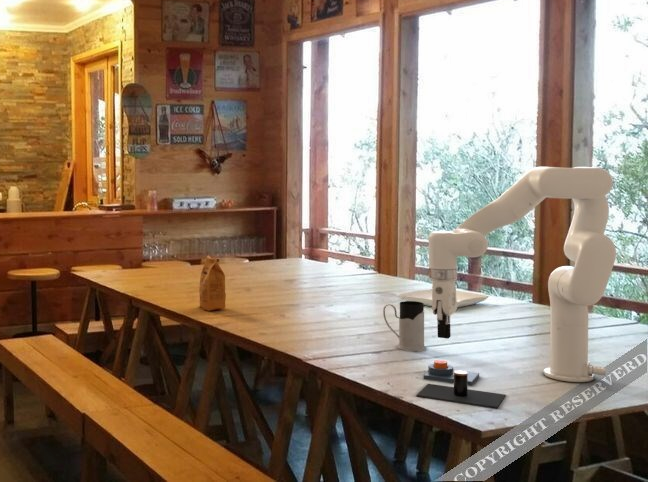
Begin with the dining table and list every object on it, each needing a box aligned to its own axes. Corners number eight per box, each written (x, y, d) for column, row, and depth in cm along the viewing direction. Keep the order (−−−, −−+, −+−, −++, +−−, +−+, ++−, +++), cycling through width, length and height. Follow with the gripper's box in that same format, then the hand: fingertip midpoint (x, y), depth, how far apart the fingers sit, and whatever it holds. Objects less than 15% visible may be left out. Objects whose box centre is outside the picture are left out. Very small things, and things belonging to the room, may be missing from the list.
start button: (448, 367, 228) (448, 361, 228) (445, 370, 225) (445, 363, 225) (435, 365, 230) (435, 359, 230) (432, 368, 227) (432, 362, 227)
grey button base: (479, 377, 227) (479, 366, 227) (471, 386, 219) (471, 375, 218) (432, 370, 234) (432, 361, 234) (423, 379, 226) (423, 368, 226)
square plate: (490, 303, 333) (490, 294, 332) (451, 312, 317) (451, 302, 317) (435, 295, 355) (435, 286, 355) (395, 302, 340) (395, 293, 340)
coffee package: (218, 304, 342) (217, 254, 341) (228, 310, 330) (227, 258, 329) (196, 306, 339) (195, 255, 338) (205, 311, 327) (204, 259, 326)
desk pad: (505, 396, 209) (505, 394, 209) (497, 408, 199) (497, 407, 199) (428, 385, 220) (428, 383, 220) (416, 396, 210) (416, 394, 210)
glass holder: (419, 352, 255) (419, 306, 255) (377, 346, 265) (377, 301, 264) (429, 347, 262) (429, 302, 261) (389, 341, 271) (389, 298, 271)
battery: (468, 394, 210) (468, 371, 210) (465, 397, 207) (466, 374, 207) (455, 392, 212) (455, 369, 212) (452, 395, 209) (452, 372, 209)
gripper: (450, 279, 218) (451, 344, 219) (462, 271, 231) (463, 333, 232) (422, 277, 222) (424, 341, 223) (435, 270, 235) (437, 330, 236)
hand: (444, 337), depth 228 cm, fingers closed
